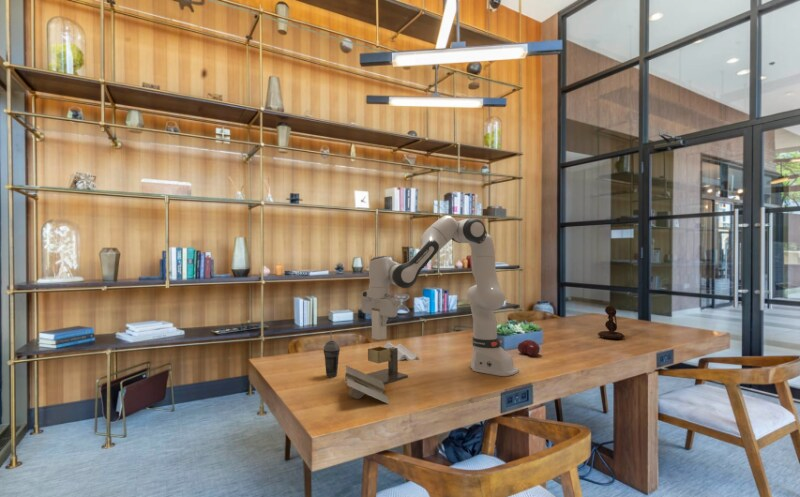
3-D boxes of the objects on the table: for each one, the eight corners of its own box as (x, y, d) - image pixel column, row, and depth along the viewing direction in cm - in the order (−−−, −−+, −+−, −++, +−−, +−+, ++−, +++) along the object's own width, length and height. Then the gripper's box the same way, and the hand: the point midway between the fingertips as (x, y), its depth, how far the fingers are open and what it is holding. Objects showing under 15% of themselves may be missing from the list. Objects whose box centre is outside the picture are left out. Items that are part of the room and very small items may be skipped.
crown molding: (419, 360, 205) (419, 353, 205) (396, 362, 202) (396, 355, 202) (401, 347, 235) (401, 340, 235) (381, 348, 232) (381, 342, 232)
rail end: (386, 338, 173) (386, 308, 173) (378, 339, 170) (378, 309, 170) (379, 336, 176) (379, 307, 177) (371, 338, 173) (371, 308, 173)
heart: (528, 349, 221) (515, 354, 216) (527, 336, 220) (514, 340, 215) (546, 354, 211) (533, 360, 206) (545, 340, 210) (532, 345, 205)
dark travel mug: (326, 379, 172) (326, 333, 173) (321, 375, 179) (321, 330, 179) (342, 377, 176) (342, 331, 176) (336, 372, 182) (336, 329, 182)
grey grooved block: (366, 398, 162) (335, 374, 158) (383, 380, 162) (352, 355, 158) (371, 424, 144) (336, 398, 140) (389, 404, 144) (354, 377, 140)
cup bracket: (407, 377, 175) (407, 347, 175) (380, 385, 164) (380, 354, 164) (386, 370, 185) (386, 342, 185) (359, 378, 174) (359, 348, 174)
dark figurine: (626, 341, 244) (625, 308, 244) (599, 339, 249) (599, 307, 250) (622, 336, 258) (621, 305, 258) (596, 335, 263) (596, 304, 263)
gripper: (400, 294, 168) (400, 327, 168) (370, 291, 183) (370, 321, 183) (389, 295, 164) (389, 329, 163) (359, 292, 179) (359, 323, 178)
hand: (379, 325), depth 173 cm, fingers closed on rail end, 4 cm apart
